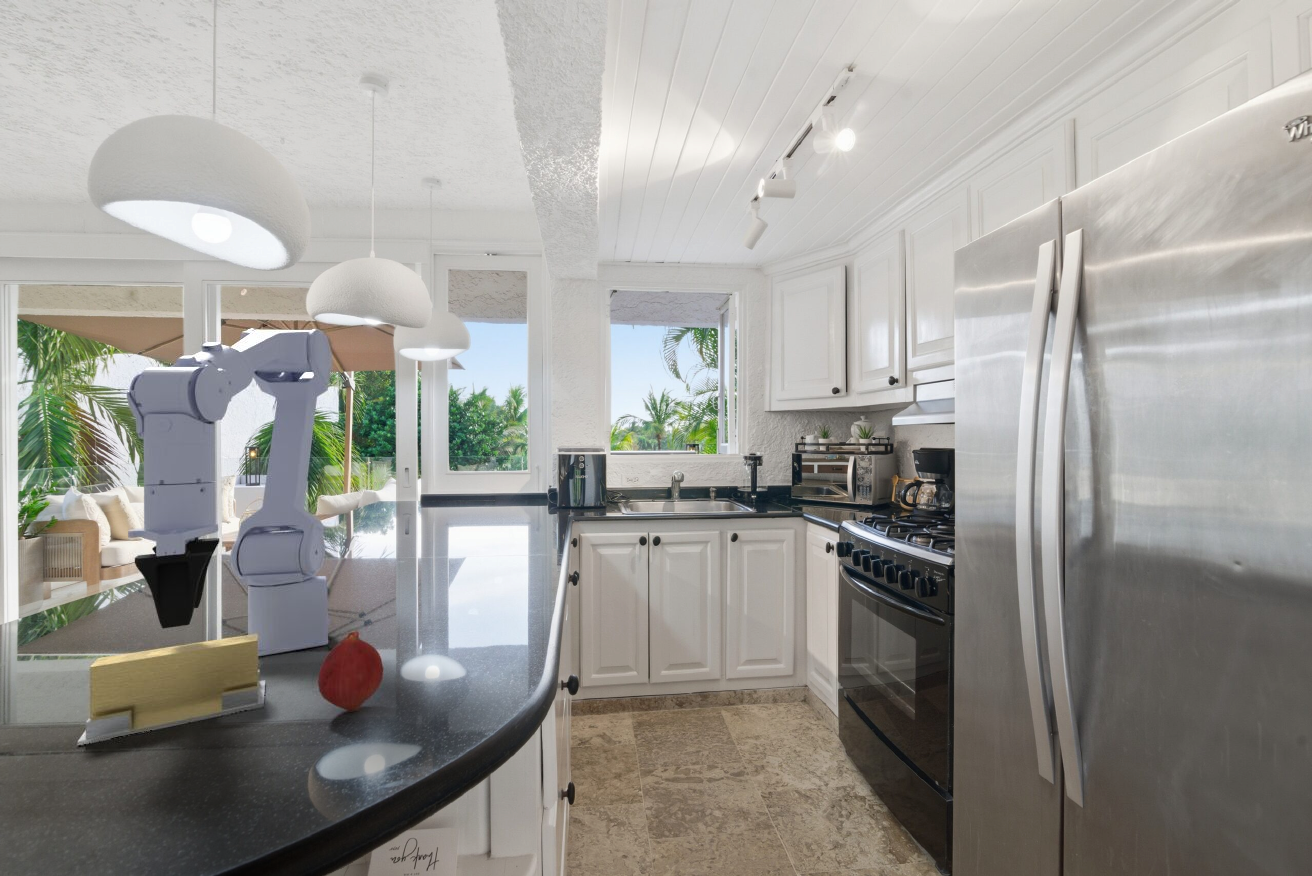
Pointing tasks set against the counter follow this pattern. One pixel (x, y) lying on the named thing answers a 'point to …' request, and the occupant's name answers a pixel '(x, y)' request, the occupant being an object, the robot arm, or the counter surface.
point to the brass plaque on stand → (173, 678)
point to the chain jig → (123, 725)
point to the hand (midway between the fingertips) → (181, 617)
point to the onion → (350, 673)
